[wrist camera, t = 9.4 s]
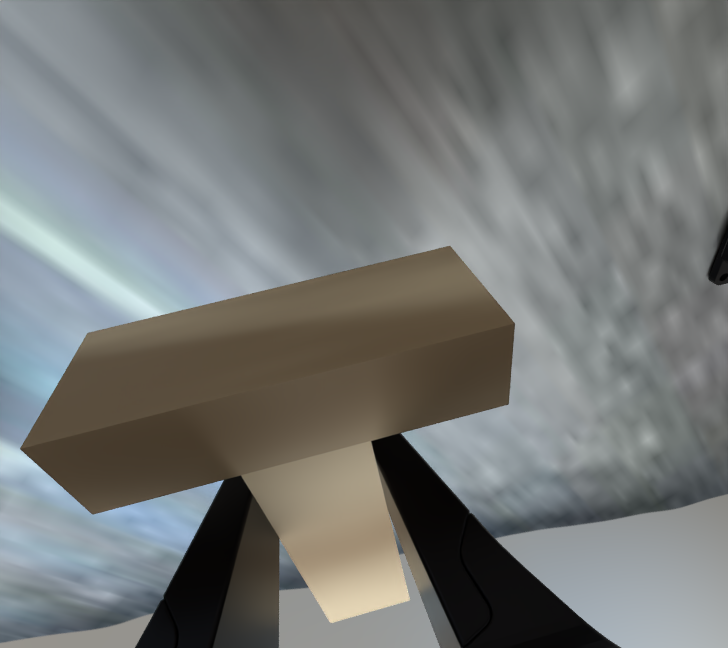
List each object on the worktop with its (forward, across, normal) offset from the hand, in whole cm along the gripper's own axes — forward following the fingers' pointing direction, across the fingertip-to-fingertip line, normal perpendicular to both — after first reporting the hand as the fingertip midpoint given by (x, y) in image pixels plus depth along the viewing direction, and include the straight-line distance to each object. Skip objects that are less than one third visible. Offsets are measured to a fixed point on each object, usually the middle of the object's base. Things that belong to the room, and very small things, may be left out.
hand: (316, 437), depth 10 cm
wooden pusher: (+1, 0, +1) cm, 2 cm away
